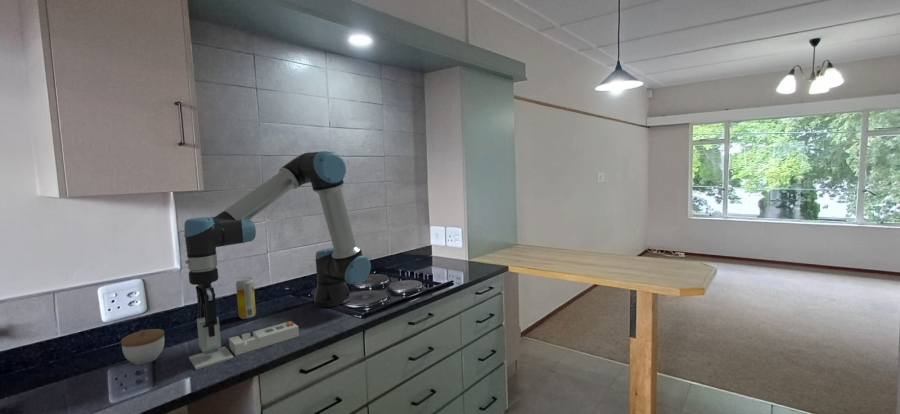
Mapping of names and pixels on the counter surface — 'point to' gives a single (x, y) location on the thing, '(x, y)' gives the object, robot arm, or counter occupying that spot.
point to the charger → (203, 337)
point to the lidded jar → (143, 346)
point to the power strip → (263, 337)
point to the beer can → (245, 298)
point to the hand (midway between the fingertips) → (210, 343)
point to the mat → (210, 358)
